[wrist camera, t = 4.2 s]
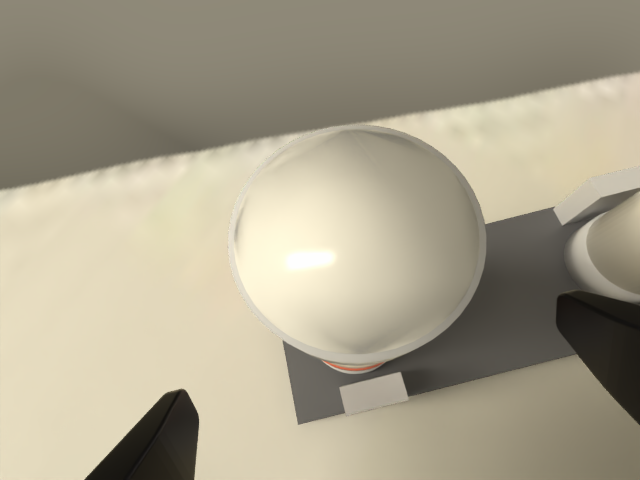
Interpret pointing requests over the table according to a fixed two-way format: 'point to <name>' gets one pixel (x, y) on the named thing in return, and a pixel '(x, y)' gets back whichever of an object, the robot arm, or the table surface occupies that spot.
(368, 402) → the fuse holder
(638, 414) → the robot arm
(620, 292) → the fuse
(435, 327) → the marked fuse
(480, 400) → the table surface
